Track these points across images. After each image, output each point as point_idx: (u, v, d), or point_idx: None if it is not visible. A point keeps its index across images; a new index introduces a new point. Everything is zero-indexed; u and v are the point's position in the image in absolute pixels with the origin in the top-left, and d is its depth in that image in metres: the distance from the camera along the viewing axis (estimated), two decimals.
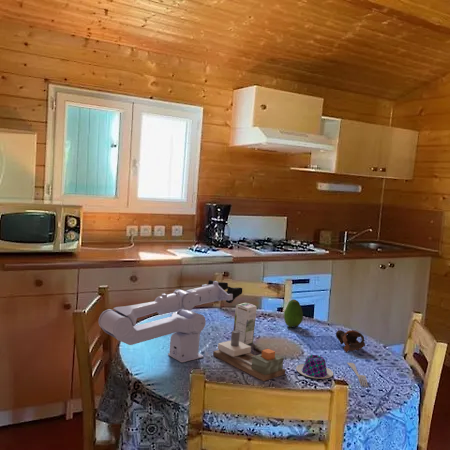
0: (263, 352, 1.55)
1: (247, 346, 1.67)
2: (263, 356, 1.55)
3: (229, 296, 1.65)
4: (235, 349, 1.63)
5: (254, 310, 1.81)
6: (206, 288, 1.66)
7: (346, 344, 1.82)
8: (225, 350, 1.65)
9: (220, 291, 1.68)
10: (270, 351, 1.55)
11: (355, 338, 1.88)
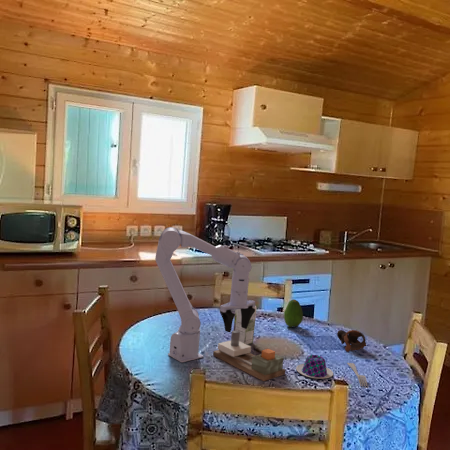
0: (263, 352, 1.55)
1: (247, 346, 1.67)
2: (263, 356, 1.55)
3: (223, 307, 1.61)
4: (235, 349, 1.63)
5: None
6: (247, 291, 1.64)
7: (347, 344, 1.82)
8: (225, 350, 1.65)
9: (234, 305, 1.63)
10: (270, 351, 1.55)
11: (356, 338, 1.89)
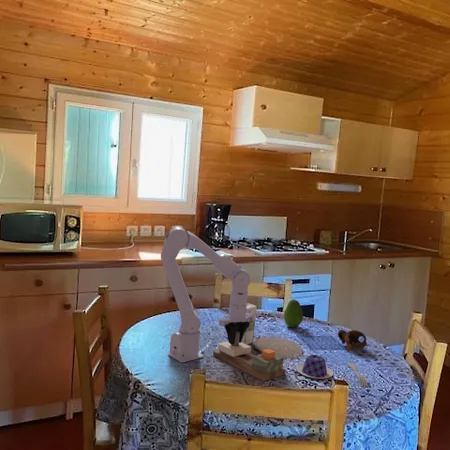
0: (263, 352, 1.55)
1: (247, 346, 1.67)
2: (263, 356, 1.55)
3: (221, 321, 1.61)
4: (235, 349, 1.63)
5: (254, 310, 1.81)
6: (246, 304, 1.65)
7: (348, 344, 1.82)
8: (225, 350, 1.65)
9: (233, 319, 1.64)
10: (270, 351, 1.55)
11: (357, 338, 1.89)
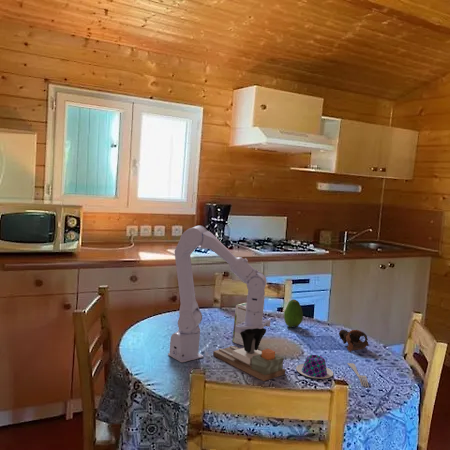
0: (263, 352, 1.55)
1: None
2: (263, 356, 1.55)
3: (238, 328, 1.55)
4: (251, 357, 1.58)
5: None
6: (262, 311, 1.58)
7: (350, 343, 1.83)
8: (240, 357, 1.59)
9: (249, 325, 1.58)
10: (270, 351, 1.55)
11: (358, 337, 1.89)
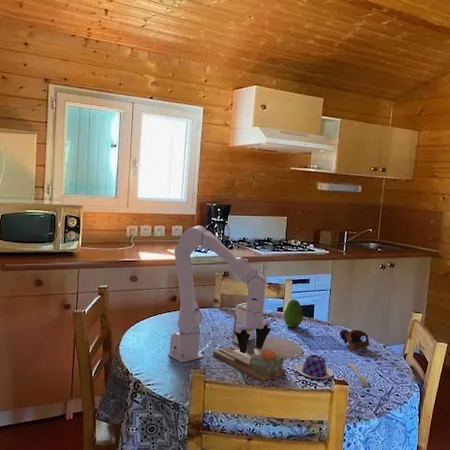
0: (263, 352, 1.55)
1: None
2: (263, 356, 1.55)
3: (238, 328, 1.55)
4: (251, 357, 1.58)
5: None
6: (262, 311, 1.58)
7: (351, 343, 1.83)
8: (240, 357, 1.59)
9: (249, 325, 1.58)
10: (270, 351, 1.55)
11: (359, 337, 1.90)
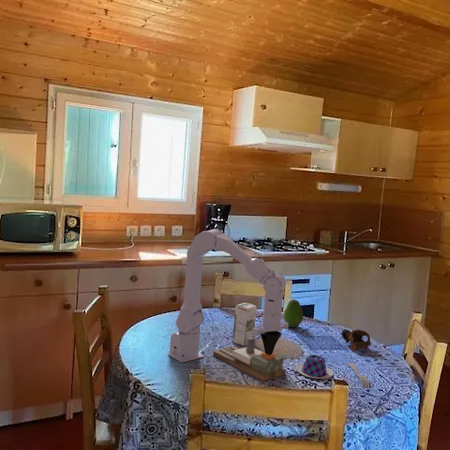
0: (263, 354, 1.55)
1: None
2: None
3: (255, 330, 1.50)
4: (251, 357, 1.58)
5: (254, 310, 1.81)
6: (279, 313, 1.52)
7: (352, 343, 1.83)
8: (240, 357, 1.59)
9: (267, 328, 1.52)
10: None
11: (360, 337, 1.90)
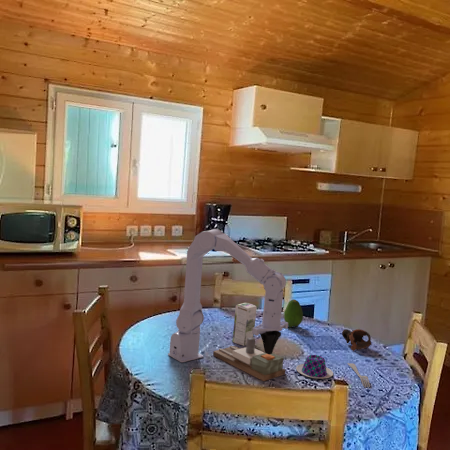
0: (263, 357, 1.55)
1: None
2: None
3: (255, 330, 1.50)
4: (251, 357, 1.58)
5: (254, 310, 1.81)
6: (279, 313, 1.52)
7: (353, 343, 1.84)
8: (240, 357, 1.59)
9: (267, 328, 1.52)
10: (270, 356, 1.56)
11: (361, 337, 1.90)
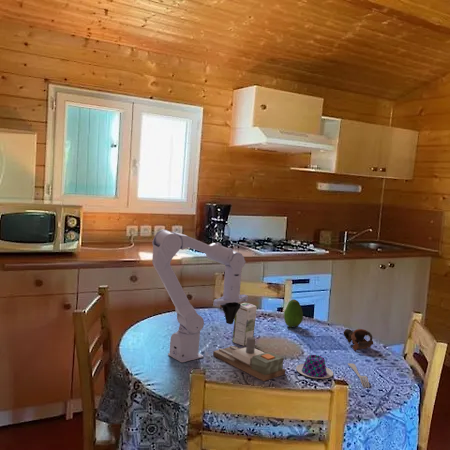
0: (263, 357, 1.55)
1: None
2: None
3: (216, 301, 1.65)
4: (251, 357, 1.58)
5: (254, 310, 1.81)
6: None
7: (355, 343, 1.84)
8: (240, 357, 1.59)
9: (227, 300, 1.68)
10: (270, 356, 1.56)
11: (362, 336, 1.91)
